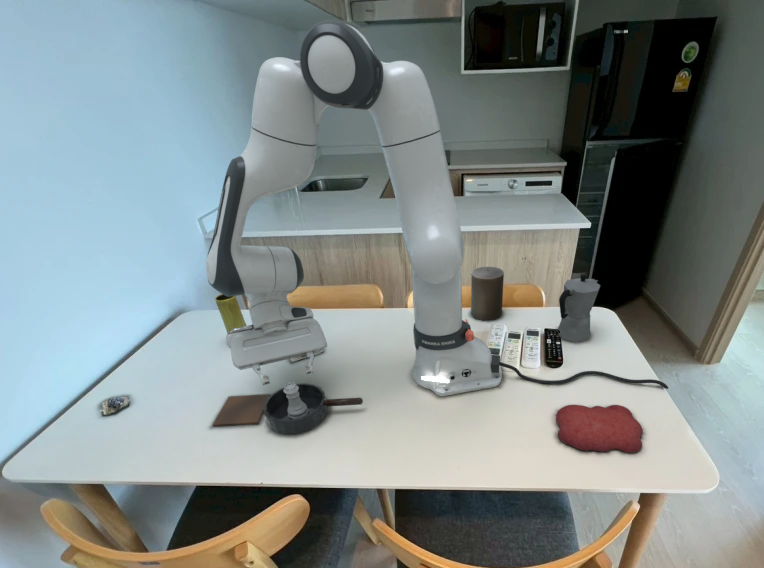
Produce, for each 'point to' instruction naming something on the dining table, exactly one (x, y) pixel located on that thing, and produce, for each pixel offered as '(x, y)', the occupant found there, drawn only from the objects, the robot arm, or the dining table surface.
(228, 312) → the vase
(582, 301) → the coffeepot
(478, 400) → the dining table surface
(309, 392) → the pan
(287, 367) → the dining table surface
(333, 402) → the pan handle
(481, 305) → the pillar candle
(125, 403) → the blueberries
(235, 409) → the plate
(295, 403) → the rook chess piece
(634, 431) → the patty
